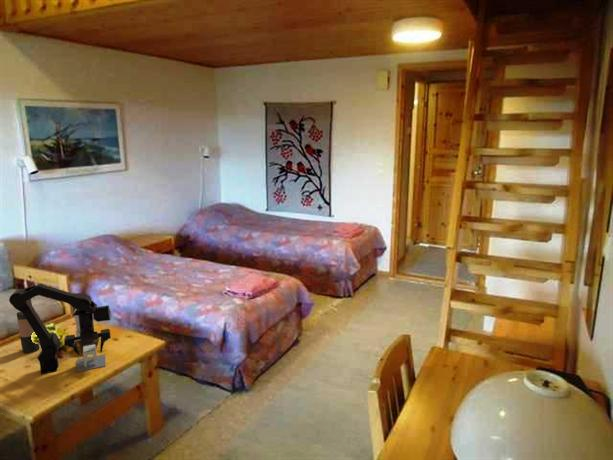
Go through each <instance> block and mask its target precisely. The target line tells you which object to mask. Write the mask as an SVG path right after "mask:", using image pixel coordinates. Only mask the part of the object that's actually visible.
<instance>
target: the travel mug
mask: <svg viewBox="0 0 613 460" xmlns="http://www.w3.org/2000/svg"><path fill="white" fill-rule="evenodd" d="M16 318H17V319H16V320H17V325H18V334H19V338H20V343H21V348H22V353H24V354H33V353H35V352H38V351H39V350H40V348H41V347H40V346H39V345H40V344H39V345H38V344H35V343H33V342H32V340H31V335H32V333H33V332H34V331H33V329H32V328H31V326H30V324H29V323H28V321H27V320H26V318H25V317H24V315H23V314H22V313H21V312H20V311H17V313H16Z"/></svg>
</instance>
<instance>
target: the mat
mask: <svg viewBox="0 0 613 460" xmlns="http://www.w3.org/2000/svg"><path fill="white" fill-rule="evenodd" d="M96 361H97V365H94V357H93V356H87V367H85V366H84V358H83V357H82V358H78V359H76V366H75V372H76V373H80V372H85V371H89V370H90V371H91V370H93V369H94V370H95V369H98V368H99V369H100V368H105V367H107V366H106V354H105V353H103V354H98V355H97V359H96Z"/></svg>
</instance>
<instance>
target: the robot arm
mask: <svg viewBox="0 0 613 460" xmlns="http://www.w3.org/2000/svg"><path fill="white" fill-rule="evenodd" d="M37 296H42V297H46V298H49V299H52V300H56V301H59V302H62V303H65V304H68V305H70V307H72V308H74V309H76V311H75V312H74V311H73V313H74V314H72V316H73V317H74V316H76V315H78V318H79V326H80V336H78V337H76V334H70V335H66V336H65V337H64V341H63V343H64V346H65V347H68V348H71V349H73V350H74V352H75V353H76V355H77V357H78V358H80V351H79V347H78V341H81V344H82V345H86V344H92V343H93V342H94V340H96V339H98V337H99V338H100V348H99V349H100V354H102V352H103V349H104V345H105V342H107V341H108V340H110V339H111V335H112V334H111V329H109V328H104V329H100V332H98V331H95V325H94V322H97V323H98V322H106V321H111V320H112V311H111V308H110V305H103V306H98V305H97V304H96V302H94V301H93V300H92V297H91V296H90V295H89V294H86V293H79V292H78V293H72V292H68V291H66V290H62V289H60V288H59V289H58V288H55V287H52V286H49V285H45V284H44V283H37V284H35V285H32V286H28V287H25V288H18V289H16V290H15V291H14V292H13V293H12V294H11V295H10V296H9V299H8V302H9V303H10V304H11V306H12V307H13V308H14V309H15V310H17V312H21V313H22V314H23V315H24V317H25V318H26V320H27V321H28V323H29V324H30V326H31V328H32V329H33V331H34V332H35V334H36V335H37V337H38V338H39V345H40V348H41V350H40V353H39V354H38V356H37V361H39V362H38V363H39V365H40V366H39V368H40V373H39V374H41V375H43V374H47V373H53V372H57V371H58V368H59V367H60V364H59V357H58V356H57V353H58V350H59V348H60V346H61V339H60V338H59V337H58V335H57V333H54V334H53V333H51V332H50V331H49V330H48V328H47V327H46V326H45V324H44V322H43V320H42V319H41V317H40V316H39V314H38V313H37V311H36V310H35V308H34V306H33V302H32V299H34V298H35V297H37Z"/></svg>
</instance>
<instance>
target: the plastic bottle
mask: <svg viewBox="0 0 613 460" xmlns="http://www.w3.org/2000/svg"><path fill="white" fill-rule="evenodd" d="M75 311H76V308H74V311H73V312H72V313H73V314H74V312H75ZM73 314H72V315H73ZM73 318H74V323H75V337H78V336H80V326H79V318H78V315H76V316H73Z"/></svg>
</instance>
